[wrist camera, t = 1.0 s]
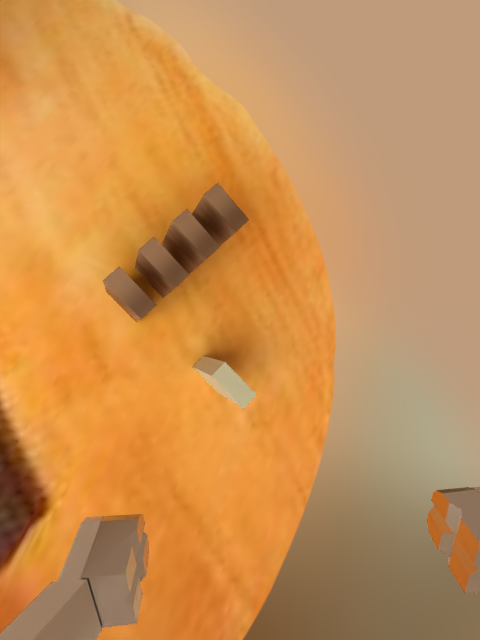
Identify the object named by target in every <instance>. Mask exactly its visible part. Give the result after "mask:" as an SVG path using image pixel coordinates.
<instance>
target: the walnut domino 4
mask: <svg viewBox="0 0 480 640" xmlns="http://www.w3.org/2000/svg"><path fill="white" fill-rule="evenodd" d="M192 215H193V216H194V217H195V219H196V220H197V221H198V222H199V223H200V224H201V225H202V227H203V228H204V229H205V230H206V231H207V232H208V233H209V234H210V236H211V237H212V238H213V239H214V240H215V241H216V242H217V244H218V245H219V246H220V245H222V244H223V243H224V242H225V241H226V240H227V239H228V238H230V237H231V236H232V235H233V234H234V233H235V232H236V231H238V230H239V229H240V228H241V227H242V226H243V225H244V224H245V223H246V222H247V221H248V220H249V219H248V218H247V217H246V216H245V215H244V213H243V212H242V211H241V210H240V209H239V207H238V206H237V205H236V204H235V203H234V201H233V200H232V199H231V198H230V197H229V195H228V194H227V193H226V192H225V191H224V190H223V188H222V187H221V186H220V185H219V184H218V183H217V184H216V185H215V186H213V187H212V188H211V189H210V190H209V191H207V192H206V193H205V194H204V196H203V197H202V199H201V201H200V202H199V204H198V205H197V207H196V209H195V210H194V212H193V214H192Z"/></svg>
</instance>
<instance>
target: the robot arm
mask: <svg viewBox="0 0 480 640" xmlns="http://www.w3.org/2000/svg"><path fill="white" fill-rule="evenodd" d="M431 500H432V502H433V504H434V505H435V506H434V507H433V508H432V509H431V510H430V511H429V513H428V519H427V523H428V528H429V532H430V535H431V537H432V540H433V542H434V543H435V545H436V547H437V549H438V550H440V551H441V552H442V553H443V554H445V555H446V556H448V557H449V562H448V567H449V568H450V570H451V572H452V573H453V575H454V577H455V578H456V580H457V582H458V583H459V585H460V586H461V588H462V589H463V591H464V593H475V592H480V487H472V488H469V487H466V488H456V489H445V490H436V491H435V492H434V493H433V496H432V499H431ZM144 526H145V521H144V516H143V514H137V515H117V516H100V517H86V518H85V519H84V520H83V522H82V523H81V525H80V527H79V530H78V532H77V535H76V537H75V540H74V542H73V545H72V547H71V550H70V552H69V555H68V557H67V560H66V562H65V565H64V567H63V569H62V572H61V574H60V577H59V579H58V581H57V582H51V583H50V584H49V585H48V586H47V587H46V588H45V589H44V590H43V591H42V592H41V593H40V594H39V595H38V596H37V597H36V598H35V599H34V600H33V601H32V602H31V603H30V604H29V605H28V606H27V607H26V608H25V609H24V610H23V611H22V612H21V613H20V614H19V615H18V616H17V617H16V618H15V619H14V620H13V621H12V622H11V623H10V624H9V625H8V626H7V627H6V628H5V629H4V630H3V631H2V632H1V633H0V640H96V638H97V637H98V636H99V634H100V633H101V631H102V628H104V627H112V626H120V625H128V624H136V623H137V620H138V615H139V610H140V605H141V599H142V594H143V593H142V588H141V583H140V582H141V580H142V579H143V578H144V577H145V575H146V572H147V566H148V556H149V542H148V536H147V534H146V533H144V532H143V531H144Z"/></svg>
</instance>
